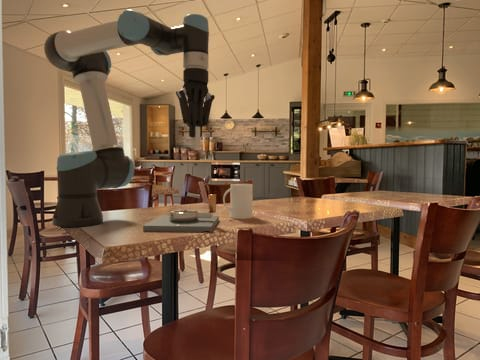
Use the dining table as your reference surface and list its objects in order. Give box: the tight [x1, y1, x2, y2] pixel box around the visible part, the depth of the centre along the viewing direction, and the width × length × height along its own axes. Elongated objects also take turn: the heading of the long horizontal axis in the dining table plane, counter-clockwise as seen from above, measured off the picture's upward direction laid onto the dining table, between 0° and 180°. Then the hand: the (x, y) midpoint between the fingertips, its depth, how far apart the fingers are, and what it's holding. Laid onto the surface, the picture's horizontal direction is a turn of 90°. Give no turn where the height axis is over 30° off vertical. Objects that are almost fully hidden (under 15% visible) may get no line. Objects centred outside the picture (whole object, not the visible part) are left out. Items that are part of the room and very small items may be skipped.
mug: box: [222, 183, 254, 220], centre depth 133 cm, size 12×8×12 cm
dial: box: [169, 193, 217, 222], centre depth 116 cm, size 15×9×8 cm, turn 86°
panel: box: [142, 214, 220, 233], centre depth 117 cm, size 20×20×2 cm
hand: (195, 148), depth 112 cm, fingers closed
